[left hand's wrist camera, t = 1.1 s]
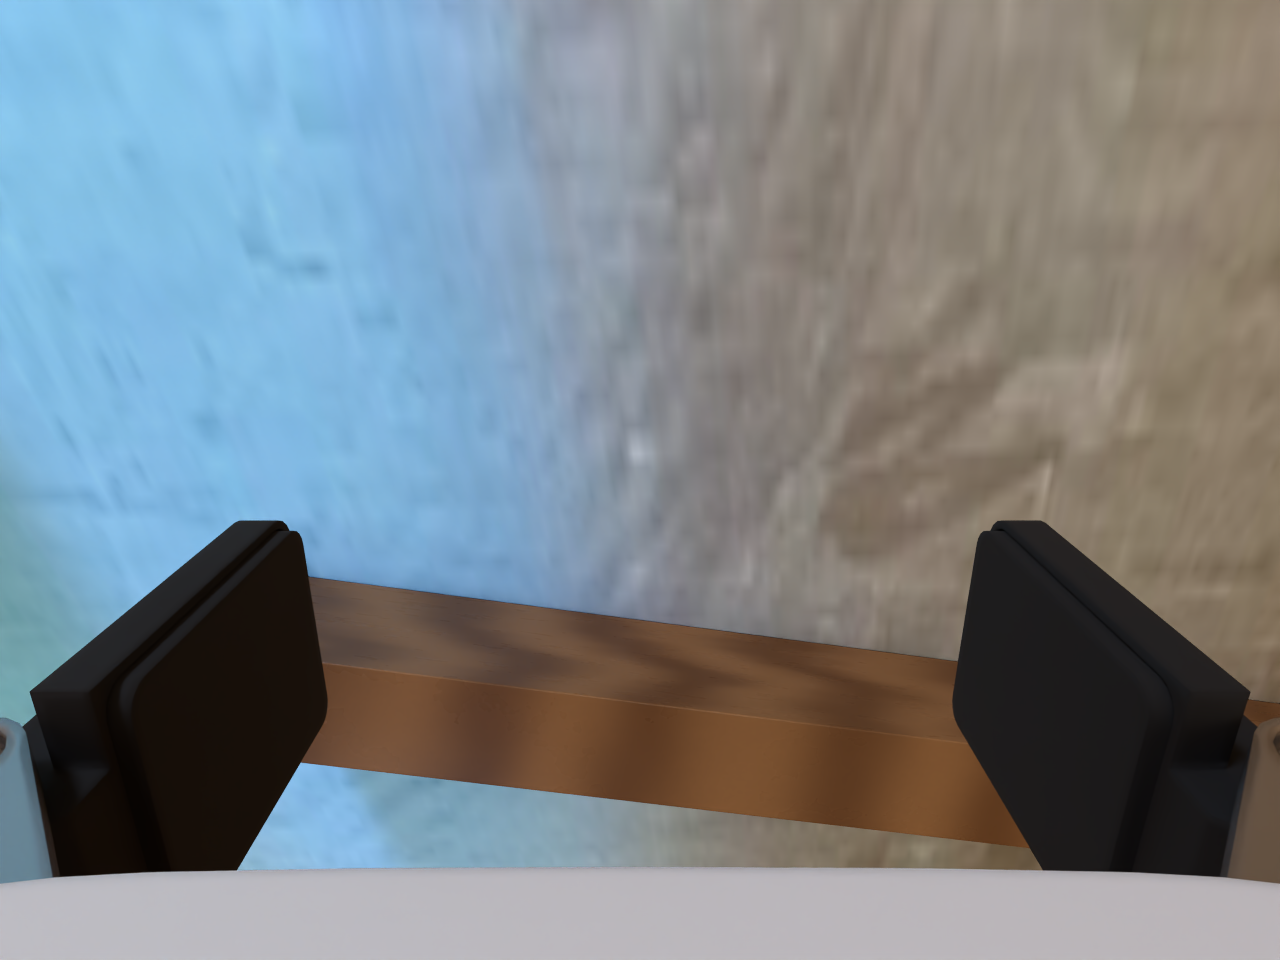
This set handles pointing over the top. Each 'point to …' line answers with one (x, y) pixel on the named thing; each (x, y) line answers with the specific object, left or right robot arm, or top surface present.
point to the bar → (649, 713)
